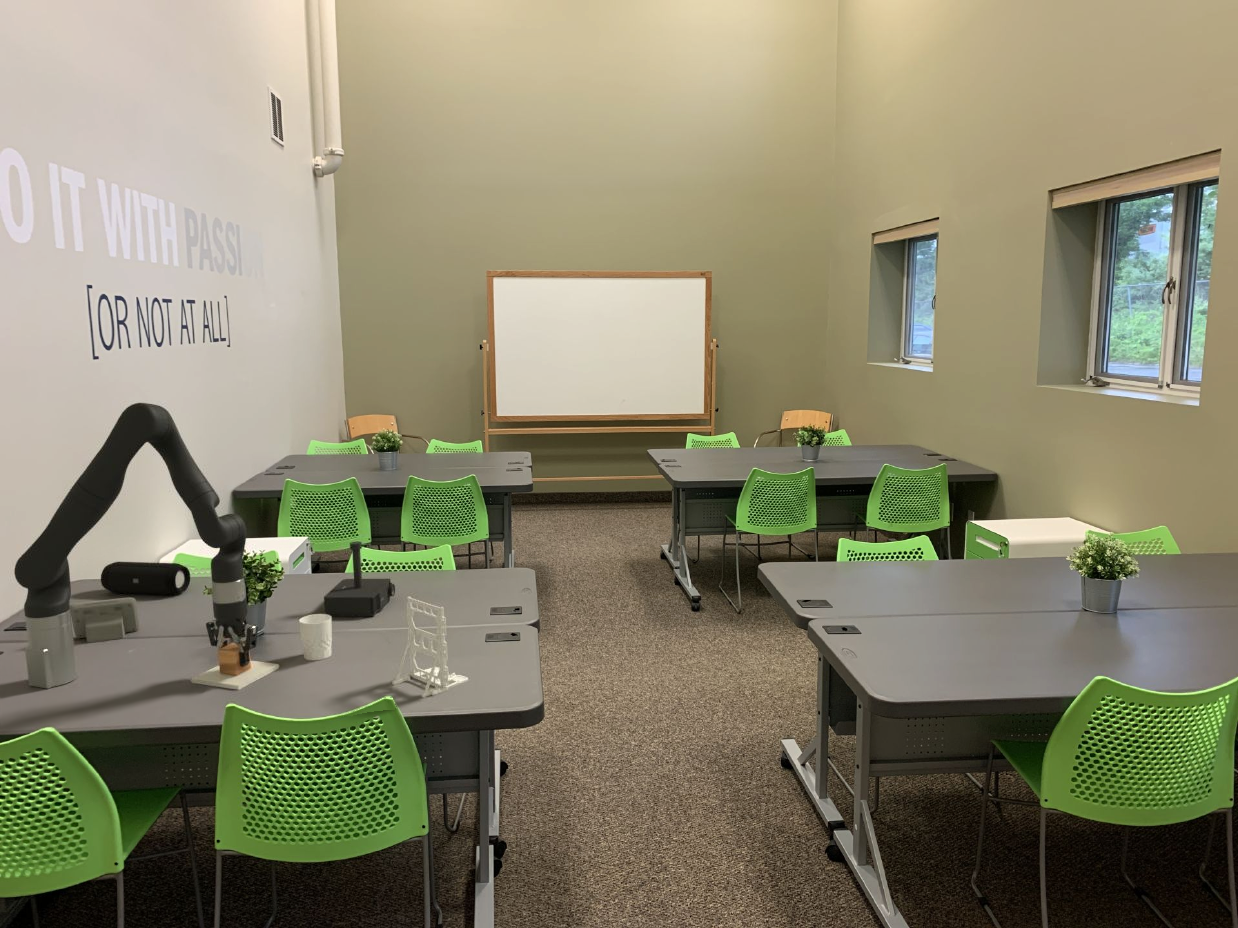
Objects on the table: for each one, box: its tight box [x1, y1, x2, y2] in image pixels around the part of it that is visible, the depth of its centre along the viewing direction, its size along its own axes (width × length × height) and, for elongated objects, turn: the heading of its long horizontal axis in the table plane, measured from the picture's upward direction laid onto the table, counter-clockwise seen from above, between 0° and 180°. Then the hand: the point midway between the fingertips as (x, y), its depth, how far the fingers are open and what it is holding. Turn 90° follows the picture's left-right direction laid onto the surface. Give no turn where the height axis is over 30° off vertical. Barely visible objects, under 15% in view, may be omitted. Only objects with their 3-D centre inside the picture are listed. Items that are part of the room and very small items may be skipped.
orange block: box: [217, 642, 252, 676], centre depth 225 cm, size 5×5×6 cm
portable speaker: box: [100, 561, 191, 596], centre depth 294 cm, size 26×10×10 cm, turn 82°
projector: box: [323, 541, 396, 618], centre depth 276 cm, size 19×17×20 cm
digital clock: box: [70, 597, 141, 644], centre depth 254 cm, size 16×9×11 cm, turn 101°
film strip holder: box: [391, 596, 469, 698], centre depth 218 cm, size 14×14×20 cm
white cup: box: [298, 613, 333, 662], centre depth 237 cm, size 8×8×10 cm
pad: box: [191, 660, 280, 690], centre depth 225 cm, size 14×14×1 cm
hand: (235, 663), depth 225 cm, fingers open, 5 cm apart
